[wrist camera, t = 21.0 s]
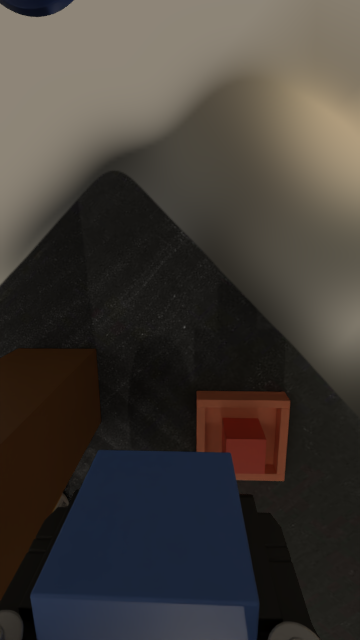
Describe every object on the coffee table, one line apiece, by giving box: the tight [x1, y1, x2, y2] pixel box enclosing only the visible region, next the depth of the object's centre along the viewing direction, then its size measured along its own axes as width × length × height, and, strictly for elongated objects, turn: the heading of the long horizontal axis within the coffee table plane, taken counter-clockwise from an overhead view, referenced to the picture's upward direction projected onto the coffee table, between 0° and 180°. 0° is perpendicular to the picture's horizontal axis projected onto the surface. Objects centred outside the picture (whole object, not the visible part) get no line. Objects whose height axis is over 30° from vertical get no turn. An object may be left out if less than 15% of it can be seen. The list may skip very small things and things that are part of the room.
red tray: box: [196, 391, 290, 481], centre depth 38 cm, size 11×11×2 cm
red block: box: [222, 418, 267, 474], centre depth 37 cm, size 4×4×4 cm
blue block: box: [30, 450, 260, 640], centre depth 9 cm, size 4×4×4 cm
